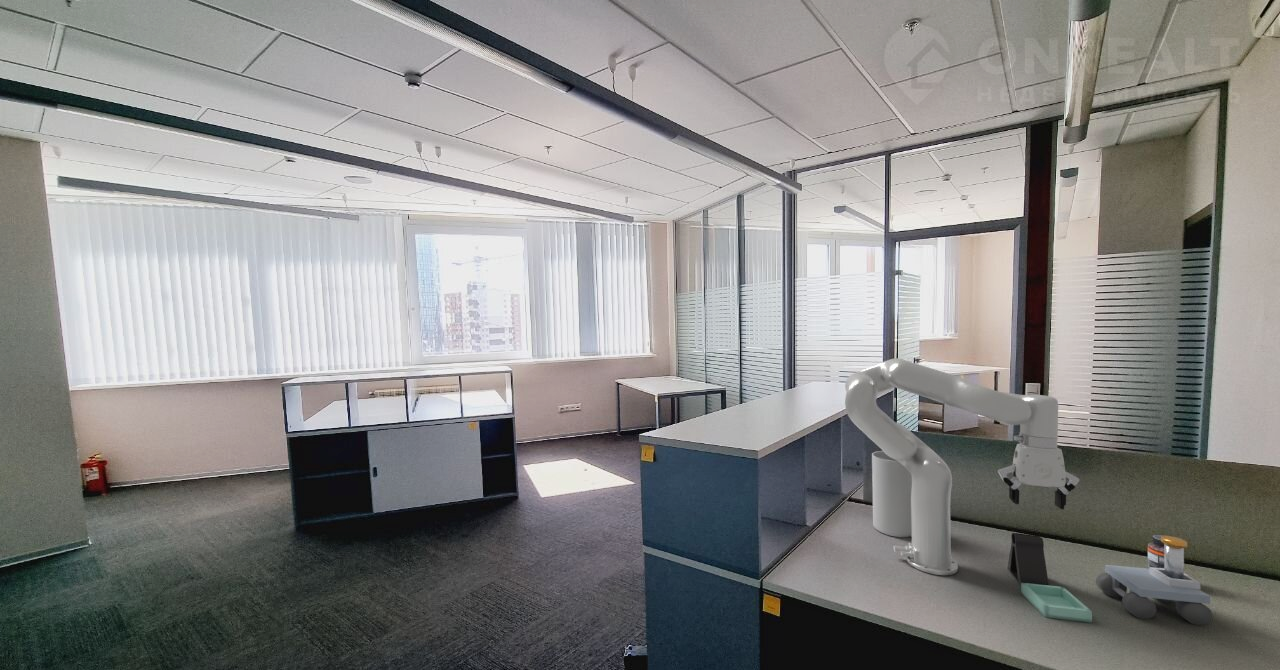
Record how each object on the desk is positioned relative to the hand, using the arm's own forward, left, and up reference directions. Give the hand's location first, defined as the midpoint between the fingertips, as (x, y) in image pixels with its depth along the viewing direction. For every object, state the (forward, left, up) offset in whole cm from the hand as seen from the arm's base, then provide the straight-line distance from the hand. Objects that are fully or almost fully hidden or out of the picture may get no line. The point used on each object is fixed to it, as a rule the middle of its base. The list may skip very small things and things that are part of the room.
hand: (1036, 504), depth 121 cm
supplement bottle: (+32, +7, -20) cm, 38 cm away
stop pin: (+23, -8, -13) cm, 28 cm away
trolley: (+19, -8, -20) cm, 29 cm away
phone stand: (-2, 0, -20) cm, 21 cm away
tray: (-3, -13, -20) cm, 24 cm away
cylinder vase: (-28, +25, -20) cm, 43 cm away
